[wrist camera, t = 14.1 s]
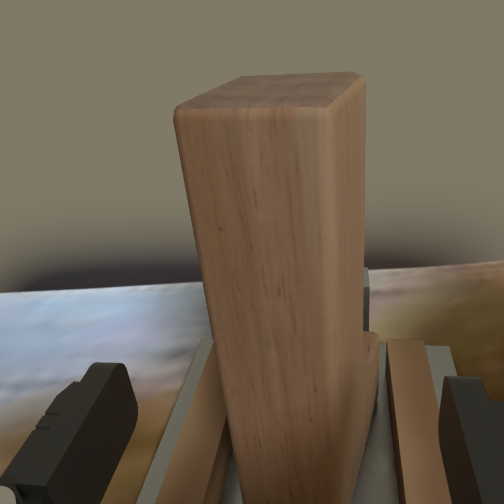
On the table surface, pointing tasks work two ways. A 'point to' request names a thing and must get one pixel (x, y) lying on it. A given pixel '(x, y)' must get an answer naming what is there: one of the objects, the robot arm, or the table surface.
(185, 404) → the shaft bed
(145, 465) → the table surface
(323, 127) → the wooden block
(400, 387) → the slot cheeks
